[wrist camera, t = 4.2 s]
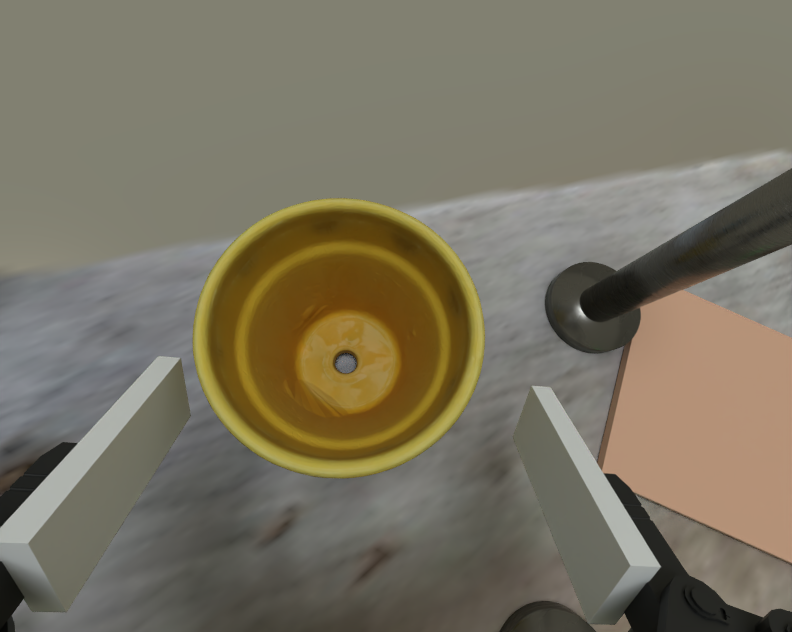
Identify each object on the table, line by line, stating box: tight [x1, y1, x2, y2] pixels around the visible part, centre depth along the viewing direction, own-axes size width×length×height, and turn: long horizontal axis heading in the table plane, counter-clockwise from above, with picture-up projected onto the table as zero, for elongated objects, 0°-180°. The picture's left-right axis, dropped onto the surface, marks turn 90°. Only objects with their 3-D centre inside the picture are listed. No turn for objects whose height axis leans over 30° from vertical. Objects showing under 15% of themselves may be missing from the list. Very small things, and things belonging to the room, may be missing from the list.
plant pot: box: [193, 198, 485, 478], centre depth 18 cm, size 10×10×10 cm
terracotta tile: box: [597, 290, 792, 564], centre depth 24 cm, size 14×14×1 cm
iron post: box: [545, 168, 792, 353], centre depth 17 cm, size 6×6×17 cm
